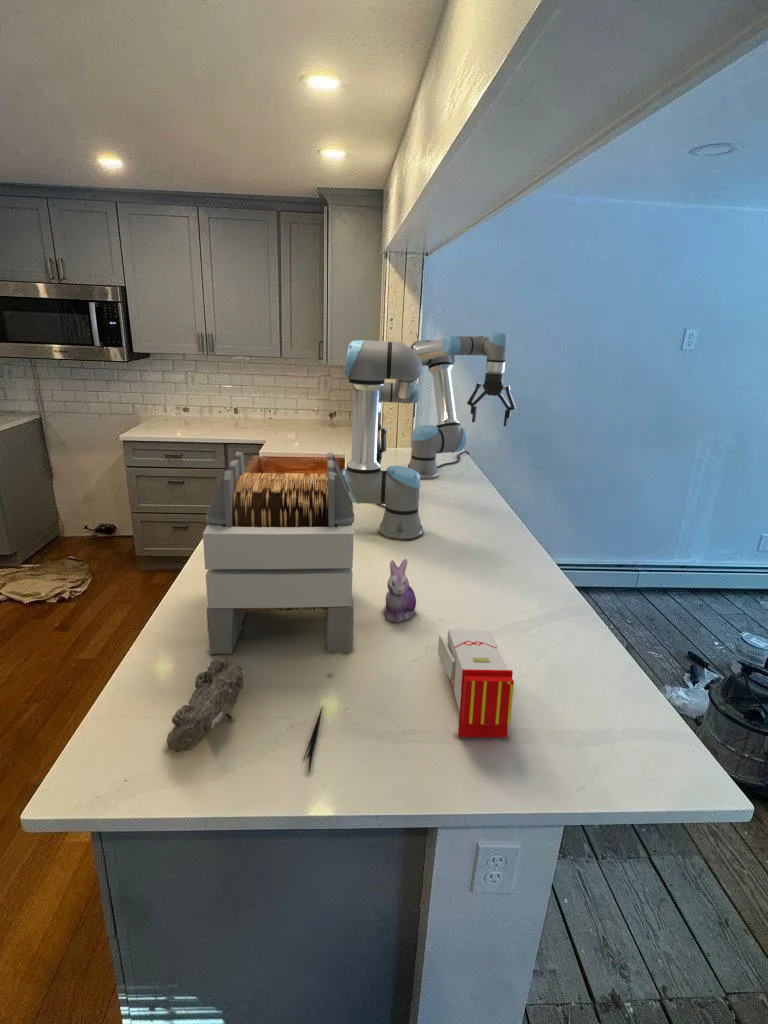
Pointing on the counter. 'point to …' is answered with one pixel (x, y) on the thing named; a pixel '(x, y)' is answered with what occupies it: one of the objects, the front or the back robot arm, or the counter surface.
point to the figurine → (399, 594)
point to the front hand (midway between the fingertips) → (369, 466)
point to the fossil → (206, 705)
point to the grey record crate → (279, 550)
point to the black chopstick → (313, 740)
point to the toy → (478, 682)
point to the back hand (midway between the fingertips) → (489, 423)
